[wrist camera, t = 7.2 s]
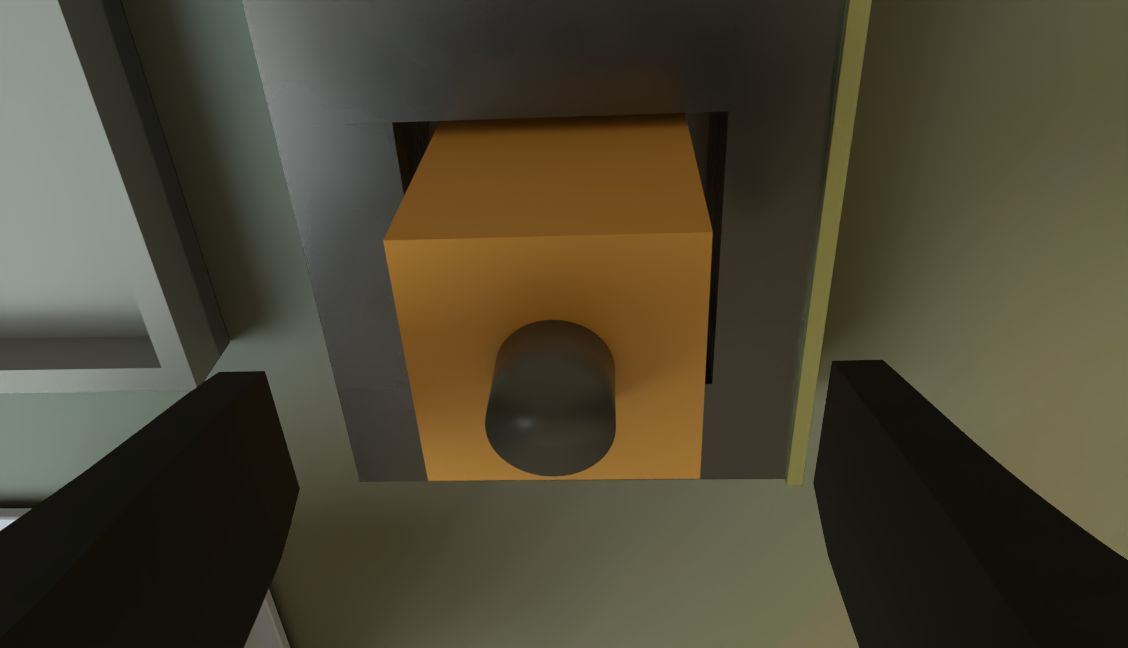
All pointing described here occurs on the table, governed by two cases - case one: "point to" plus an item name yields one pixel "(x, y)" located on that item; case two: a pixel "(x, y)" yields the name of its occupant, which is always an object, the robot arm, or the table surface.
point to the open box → (564, 89)
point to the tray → (92, 215)
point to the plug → (555, 298)
